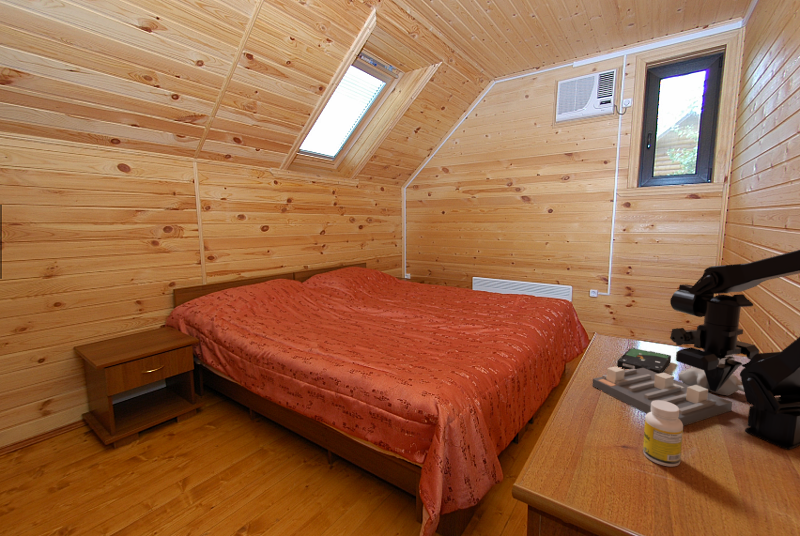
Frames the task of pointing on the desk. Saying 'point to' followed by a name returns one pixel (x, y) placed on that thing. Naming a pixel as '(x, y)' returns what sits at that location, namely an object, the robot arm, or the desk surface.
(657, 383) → the tab middle
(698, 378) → the bunny figurine
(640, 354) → the disk drive
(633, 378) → the switch panel
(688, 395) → the tab near
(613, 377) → the tab far
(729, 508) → the desk surface
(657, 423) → the supplement bottle
